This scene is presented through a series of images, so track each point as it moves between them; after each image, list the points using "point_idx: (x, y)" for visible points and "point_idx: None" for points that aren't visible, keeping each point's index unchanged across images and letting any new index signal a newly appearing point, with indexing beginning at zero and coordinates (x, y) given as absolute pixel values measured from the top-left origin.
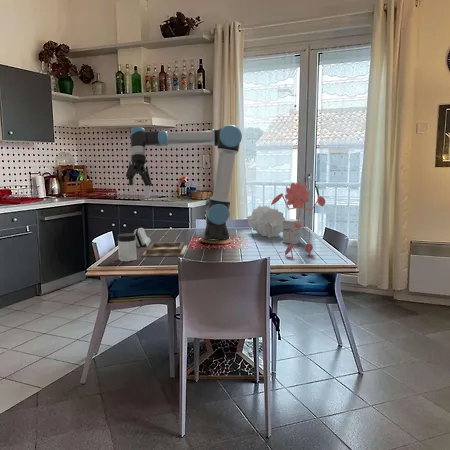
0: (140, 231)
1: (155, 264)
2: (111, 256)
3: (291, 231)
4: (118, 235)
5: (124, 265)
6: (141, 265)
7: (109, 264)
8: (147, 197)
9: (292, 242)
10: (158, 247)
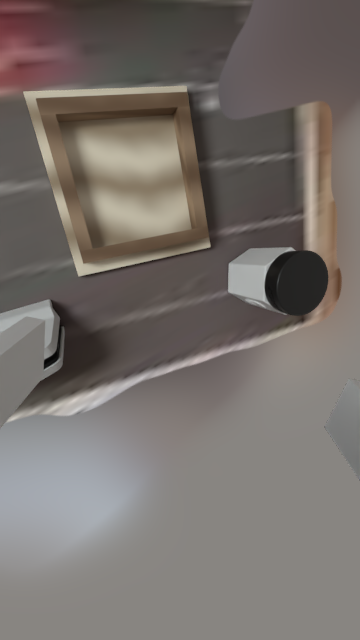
0: None
1: (294, 169)
2: (219, 343)
3: None
4: (315, 306)
5: None
6: (303, 208)
7: None
8: (42, 343)
9: None
10: (98, 228)
